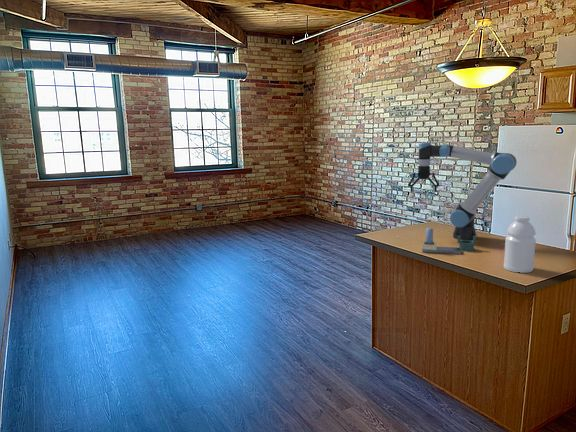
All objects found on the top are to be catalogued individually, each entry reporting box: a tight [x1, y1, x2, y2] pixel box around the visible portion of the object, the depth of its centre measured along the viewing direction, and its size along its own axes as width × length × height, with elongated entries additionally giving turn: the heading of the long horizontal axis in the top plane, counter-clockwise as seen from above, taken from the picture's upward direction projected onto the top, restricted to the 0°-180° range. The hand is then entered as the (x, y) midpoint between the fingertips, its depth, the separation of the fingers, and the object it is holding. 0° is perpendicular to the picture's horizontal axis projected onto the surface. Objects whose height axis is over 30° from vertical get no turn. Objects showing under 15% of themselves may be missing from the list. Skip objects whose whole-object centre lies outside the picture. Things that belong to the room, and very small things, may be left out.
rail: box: [421, 240, 462, 255], centre depth 257 cm, size 22×8×5 cm, turn 73°
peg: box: [425, 227, 434, 244], centre depth 258 cm, size 4×4×12 cm
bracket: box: [456, 236, 477, 252], centre depth 260 cm, size 9×9×9 cm
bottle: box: [503, 215, 537, 274], centre depth 219 cm, size 14×14×28 cm
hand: (423, 196), depth 288 cm, fingers open, 13 cm apart
